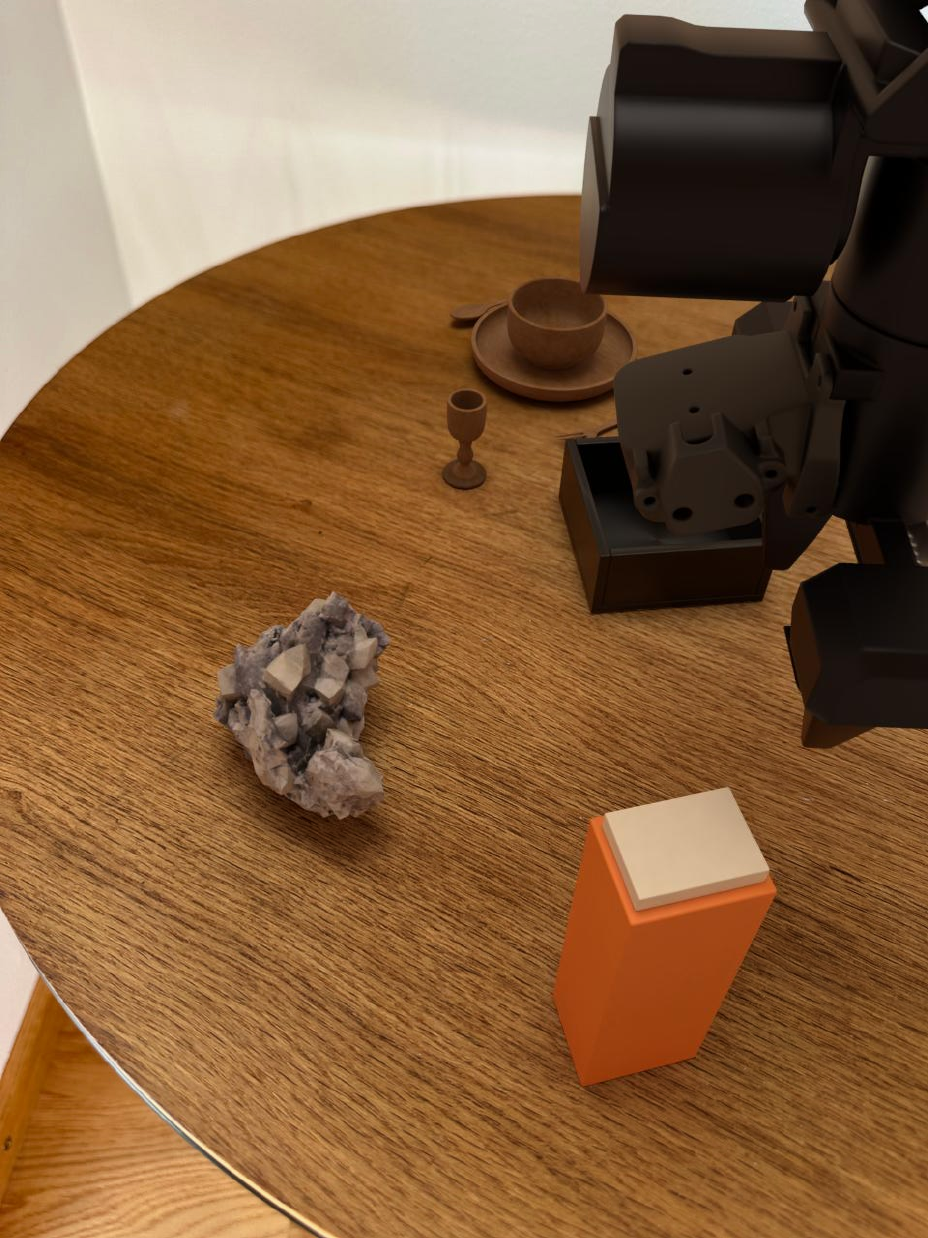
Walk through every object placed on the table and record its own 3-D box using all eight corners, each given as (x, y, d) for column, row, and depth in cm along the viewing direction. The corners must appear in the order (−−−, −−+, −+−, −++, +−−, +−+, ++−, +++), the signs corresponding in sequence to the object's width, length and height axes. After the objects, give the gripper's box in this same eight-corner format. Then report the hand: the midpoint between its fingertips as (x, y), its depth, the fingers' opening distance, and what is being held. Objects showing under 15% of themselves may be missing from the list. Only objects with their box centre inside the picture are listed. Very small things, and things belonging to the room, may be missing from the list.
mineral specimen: (396, 840, 47) (329, 628, 44) (206, 869, 49) (132, 668, 47) (450, 725, 58) (399, 550, 56) (294, 753, 61) (238, 586, 58)
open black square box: (713, 486, 69) (728, 429, 66) (762, 601, 63) (782, 544, 59) (558, 496, 68) (565, 438, 65) (590, 614, 61) (600, 556, 58)
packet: (660, 968, 47) (732, 774, 36) (695, 1058, 45) (785, 879, 34) (551, 995, 46) (591, 804, 35) (581, 1088, 44) (634, 913, 33)
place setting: (697, 397, 76) (713, 323, 71) (463, 499, 68) (466, 424, 63) (545, 285, 85) (551, 214, 81) (324, 363, 77) (318, 289, 73)
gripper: (629, 141, 37) (580, 486, 49) (686, 498, 25) (602, 849, 36) (950, 155, 37) (825, 496, 49) (1171, 519, 25) (933, 863, 36)
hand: (793, 649), depth 43 cm, fingers open, 9 cm apart
